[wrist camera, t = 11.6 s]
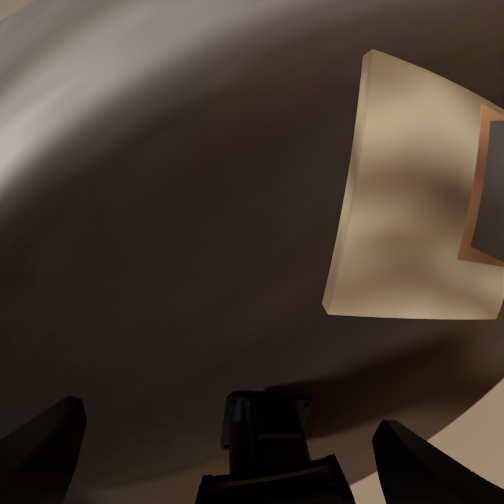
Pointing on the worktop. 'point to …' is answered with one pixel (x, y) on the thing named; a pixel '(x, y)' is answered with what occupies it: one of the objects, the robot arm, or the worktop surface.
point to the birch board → (414, 200)
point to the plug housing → (492, 198)
